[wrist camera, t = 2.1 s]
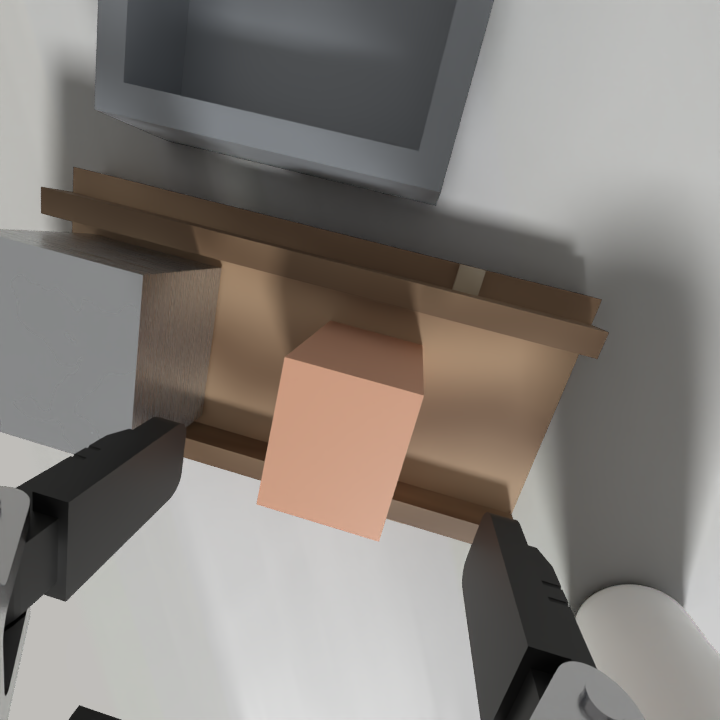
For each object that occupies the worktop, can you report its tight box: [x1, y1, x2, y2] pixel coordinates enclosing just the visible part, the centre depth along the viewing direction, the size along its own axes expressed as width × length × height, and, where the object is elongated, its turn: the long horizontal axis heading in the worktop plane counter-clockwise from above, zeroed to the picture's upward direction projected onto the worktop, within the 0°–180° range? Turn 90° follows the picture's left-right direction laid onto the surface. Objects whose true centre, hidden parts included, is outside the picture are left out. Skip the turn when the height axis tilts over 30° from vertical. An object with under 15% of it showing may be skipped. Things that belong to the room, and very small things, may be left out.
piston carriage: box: [0, 229, 221, 454], centre depth 16 cm, size 7×6×5 cm
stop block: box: [257, 320, 424, 541], centre depth 15 cm, size 5×4×6 cm
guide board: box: [41, 167, 609, 544], centre depth 18 cm, size 12×22×3 cm, turn 76°
